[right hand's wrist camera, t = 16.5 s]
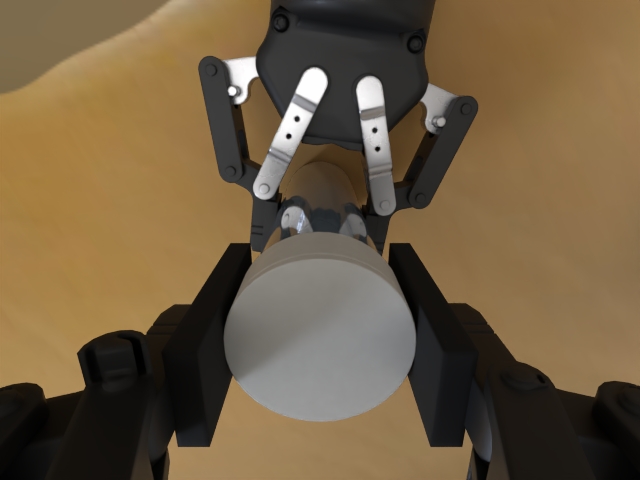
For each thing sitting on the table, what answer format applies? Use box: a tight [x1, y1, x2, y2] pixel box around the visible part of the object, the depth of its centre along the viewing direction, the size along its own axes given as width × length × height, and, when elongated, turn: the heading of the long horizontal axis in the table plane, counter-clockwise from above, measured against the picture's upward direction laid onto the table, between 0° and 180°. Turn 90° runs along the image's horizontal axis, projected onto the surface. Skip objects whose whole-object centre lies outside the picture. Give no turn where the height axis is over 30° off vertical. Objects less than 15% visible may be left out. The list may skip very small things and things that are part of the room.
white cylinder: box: [224, 232, 417, 421], centre depth 11 cm, size 5×5×2 cm
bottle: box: [262, 161, 378, 253], centre depth 19 cm, size 5×5×18 cm
